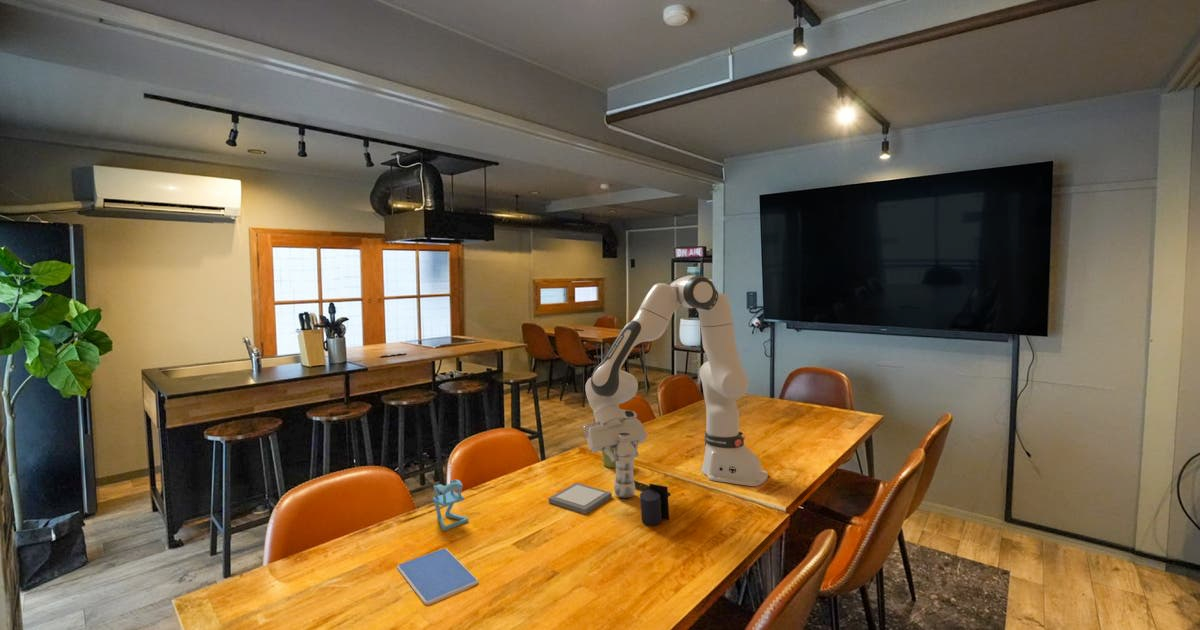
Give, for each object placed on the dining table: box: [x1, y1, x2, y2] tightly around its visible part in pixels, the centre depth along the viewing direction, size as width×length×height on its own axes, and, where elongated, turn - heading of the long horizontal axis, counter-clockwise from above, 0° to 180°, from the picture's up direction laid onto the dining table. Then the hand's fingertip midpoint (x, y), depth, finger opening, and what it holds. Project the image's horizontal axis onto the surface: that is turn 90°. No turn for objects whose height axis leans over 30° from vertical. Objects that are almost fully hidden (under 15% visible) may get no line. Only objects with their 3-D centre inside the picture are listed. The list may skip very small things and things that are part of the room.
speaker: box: [639, 483, 670, 527], centre depth 145 cm, size 8×6×10 cm
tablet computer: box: [396, 548, 479, 606], centre depth 120 cm, size 19×13×1 cm, turn 40°
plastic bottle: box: [613, 433, 636, 499], centre depth 162 cm, size 6×7×20 cm
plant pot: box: [601, 448, 616, 469], centre depth 189 cm, size 9×9×9 cm
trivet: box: [548, 482, 613, 515], centre depth 160 cm, size 14×14×2 cm
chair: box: [432, 479, 469, 531], centre depth 146 cm, size 8×8×12 cm
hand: (625, 458), depth 161 cm, fingers closed on plastic bottle, 6 cm apart
